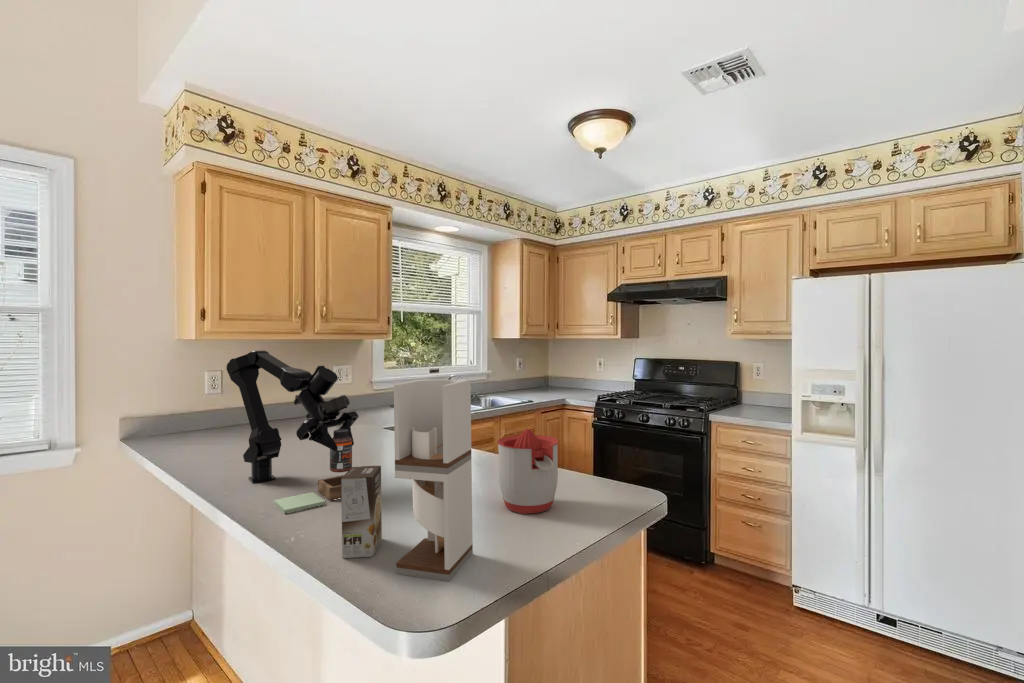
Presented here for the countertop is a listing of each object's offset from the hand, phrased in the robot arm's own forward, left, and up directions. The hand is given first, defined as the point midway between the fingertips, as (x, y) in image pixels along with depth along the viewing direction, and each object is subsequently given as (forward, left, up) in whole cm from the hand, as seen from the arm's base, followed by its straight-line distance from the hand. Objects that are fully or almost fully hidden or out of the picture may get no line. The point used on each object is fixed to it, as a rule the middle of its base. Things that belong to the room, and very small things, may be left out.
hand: (344, 447), depth 138 cm
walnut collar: (-1, -1, -13) cm, 13 cm away
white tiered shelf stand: (+54, -3, -13) cm, 56 cm away
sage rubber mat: (+1, -13, -13) cm, 18 cm away
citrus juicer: (+43, +31, -13) cm, 55 cm away
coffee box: (+38, -11, -13) cm, 41 cm away
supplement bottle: (-1, -1, -7) cm, 7 cm away
